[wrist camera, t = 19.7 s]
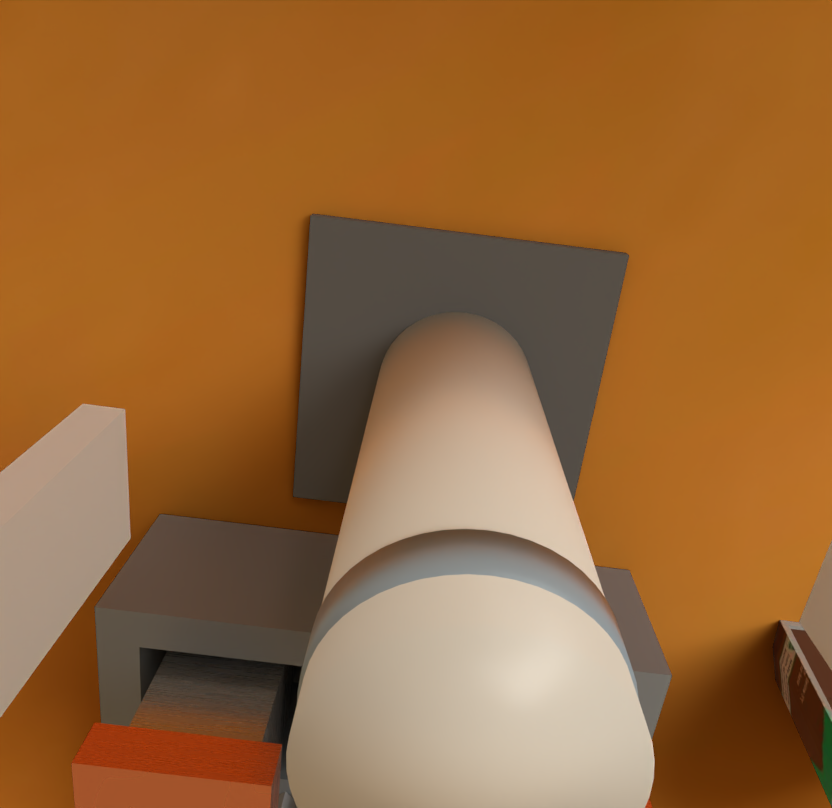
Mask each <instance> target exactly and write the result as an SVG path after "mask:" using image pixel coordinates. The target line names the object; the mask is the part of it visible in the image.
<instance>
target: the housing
mask: <svg viewBox="0 0 832 808" xmlns="http://www.w3.org/2000/svg"><path fill="white" fill-rule="evenodd" d="M338 537H339V535H332V534H324V533H315V532H307V531H299V530H291V529H282V528H274V527H266V526H257V525H249V524H241V523H232V522H224V521H216V520H207V519H199V518H191V517H182V516H174V515H166V514H160V515H159V516H158V518H157V519H156V520H155V522H154V523H153V525H152V526H151V528H150V529H149V530H148V532H147V533H146V535H145V536H144V537H143V539H142V540H141V542H140V543H139V545H138V546H137V547H136V549H135V550H134V552H133V553H132V555H131V556H130V557H129V559H128V560H127V562H126V563H125V564H124V566H123V567H122V569H121V570H120V572H119V573H118V574H117V576H116V577H115V579H114V580H113V582H112V583H111V584H110V586H109V587H108V589H107V590H106V592H105V593H104V594H103V596H102V597H101V599H100V600H99V601H98V603H97V604H96V606H95V624H96V641H97V658H98V676H99V693H100V711H101V723H104V724H113V725H121V726H129V725H130V723H131V721H132V719H133V717H134V715H135V713H136V711H137V709H138V707H139V705H140V704H141V702H142V700H143V698H144V696H145V694H146V692H147V690H148V688H149V686H150V684H151V682H152V680H153V678H154V676H155V674H156V672H157V670H158V668H159V666H160V664H161V662H162V661H163V659H164V657H165V655H166V653H167V651H176V652H185V653H193V654H202V655H210V656H219V657H227V658H236V659H244V660H253V661H261V662H270V663H278V664H286V665H295V666H294V680H293V694H292V702H291V706H290V710H289V714H288V718H287V721H286V725H285V729H284V733H283V737H282V741H281V744H282V755H281V770H280V786H279V801H278V808H297V806H296V804H295V801H294V798H293V796H292V793H291V790H290V787H289V781H288V776H287V768H286V752H287V746H288V739H289V734H290V730H291V726H292V722H293V718H294V714H295V710H296V706H297V692H298V686H299V679H300V675H301V671H302V667H303V663H304V659H305V655H306V651H307V647H308V643H309V639H310V635H311V632H312V628H313V625H314V622H315V619H316V616H317V613H318V611H319V609H320V607H321V605H322V601H323V597H324V593H325V589H326V585H327V581H328V577H329V573H330V569H331V565H332V561H333V557H334V553H335V549H336V545H337V541H338ZM595 569H596V572H597V575H598V578H599V581H600V584H601V587H602V590H603V593H604V596H605V598H606V600H607V602H608V604H609V606H610V608H611V610H612V612H613V614H614V616H615V618H616V621H617V624H618V627H619V630H620V633H621V636H622V639H623V642H624V645H625V648H626V651H627V654H628V657H629V660H630V663H631V666H632V669H633V672H634V676H635V679H636V682H637V690H638V697H639V702H640V705H641V708H642V711H643V714H644V717H645V721H646V724H647V727H648V730H649V733H650V736H651V740H652V737H653V734H654V731H655V728H656V725H657V722H658V718H659V715H660V712H661V709H662V706H663V703H664V699H665V696H666V693H667V690H668V687H669V684H670V680H671V677H672V674H671V672H670V669H669V667H668V664H667V662H666V659H665V657H664V654H663V652H662V650H661V647H660V645H659V642H658V640H657V637H656V635H655V632H654V630H653V627H652V625H651V622H650V620H649V617H648V615H647V613H646V610H645V608H644V605H643V603H642V600H641V598H640V595H639V593H638V590H637V588H636V585H635V583H634V580H633V578H632V576H631V573H630V571H629V570H623V569H615V568H607V567H598V566H595Z"/></svg>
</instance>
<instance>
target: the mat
mask: <svg viewBox="0 0 832 808" xmlns="http://www.w3.org/2000/svg"><path fill="white" fill-rule="evenodd" d="M628 258H629V255H628V254H627V253H623V252H615V251H607V250H599V249H591V248H583V247H575V246H567V245H559V244H551V243H543V242H535V241H527V240H519V239H511V238H503V237H495V236H487V235H479V234H471V233H463V232H455V231H447V230H439V229H431V228H423V227H415V226H407V225H399V224H391V223H383V222H375V221H367V220H359V219H351V218H343V217H335V216H327V215H319V214H312V215H311V216H310V231H309V247H308V263H307V279H306V296H305V312H304V328H303V344H302V360H301V376H300V392H299V408H298V424H297V440H296V456H295V472H294V488H293V497H299V498H307V499H315V500H324V501H332V502H340V503H347V501H348V497H349V493H350V489H351V485H352V481H353V477H354V473H355V469H356V465H357V461H358V457H359V453H360V449H361V445H362V441H363V436H364V432H365V428H366V424H367V420H368V416H369V412H370V408H371V404H372V400H373V396H374V392H375V388H376V384H377V380H378V376H379V372H380V368H381V365H382V362H383V359H384V357H385V354H386V352H387V350H388V349H389V347H390V346H391V344H392V343H393V341H394V340H395V339H396V338H397V337H398V336H399V335H400V334H401V333H402V332H403V331H404V330H405V329H406V328H408V327H409V326H411V325H412V324H414V323H415V322H417V321H419V320H421V319H423V318H426V317H429V316H432V315H435V314H440V313H446V312H465V313H470V314H476V315H479V316H482V317H485V318H487V319H489V320H491V321H493V322H495V323H497V324H498V325H500V326H501V327H503V328H504V329H505V330H506V331H507V332H508V333H510V334H511V336H512V337H513V338H514V339H515V340H516V341H517V343H518V344H519V346H520V347H521V349H522V351H523V353H524V355H525V357H526V359H527V362H528V365H529V368H530V371H531V374H532V377H533V381H534V384H535V387H536V390H537V393H538V396H539V399H540V402H541V405H542V408H543V411H544V414H545V417H546V420H547V423H548V426H549V429H550V432H551V435H552V438H553V441H554V444H555V447H556V450H557V453H558V456H559V459H560V463H561V466H562V469H563V472H564V475H565V478H566V481H567V484H568V487H569V490H570V493H571V496H572V499H573V501H574V496H575V492H576V488H577V483H578V479H579V474H580V470H581V466H582V461H583V457H584V452H585V448H586V443H587V439H588V435H589V430H590V426H591V421H592V417H593V413H594V408H595V404H596V399H597V395H598V390H599V386H600V382H601V377H602V373H603V368H604V364H605V360H606V355H607V351H608V346H609V342H610V338H611V333H612V329H613V324H614V320H615V315H616V311H617V307H618V302H619V298H620V293H621V289H622V285H623V280H624V276H625V271H626V267H627V262H628Z"/></svg>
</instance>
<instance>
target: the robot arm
mask: <svg viewBox="0 0 832 808" xmlns="http://www.w3.org/2000/svg"><path fill="white" fill-rule="evenodd" d="M130 539H131V534H130V510H129V487H128V463H127V440H126V416H125V409H121V408H113V407H105V406H97V405H89V404H82V405H81V406H80V407H78V408H77V409H76V410H75V411H74V412H72V413H71V414H70V415H69V416H67V417H66V418H65V419H64V420H63V421H61V422H60V423H59V424H58V425H57V426H55V427H54V428H53V429H52V430H51V431H49V432H48V433H47V434H46V435H45V436H43V437H42V438H41V439H40V440H39V441H37V442H36V443H35V444H34V445H33V446H31V447H30V448H29V449H28V450H27V451H25V452H24V453H23V454H22V455H21V456H19V457H18V458H17V459H16V460H15V461H13V462H12V463H11V464H10V465H9V466H7V467H6V468H5V469H4V470H3V471H1V472H0V717H1V716H2V715H3V713H4V712H5V710H6V709H7V708H8V706H9V705H10V704H11V702H12V701H13V699H14V698H15V697H16V695H17V694H18V693H19V691H20V690H21V688H22V687H23V686H24V684H25V683H26V682H27V680H28V679H29V677H30V676H31V675H32V673H33V672H34V671H35V669H36V668H37V666H38V665H39V664H40V662H41V661H42V660H43V658H44V657H45V655H46V654H47V653H48V651H49V650H50V649H51V647H52V646H53V644H54V643H55V642H56V640H57V639H58V638H59V636H60V635H61V633H62V632H63V631H64V629H65V628H66V627H67V625H68V624H69V622H70V621H71V620H72V618H73V617H74V616H75V614H76V613H77V611H78V610H79V609H80V607H81V606H82V605H83V603H84V602H85V600H86V599H87V598H88V596H89V595H90V594H91V592H92V591H93V589H94V588H95V587H96V585H97V584H98V583H99V581H100V580H101V578H102V577H103V576H104V574H105V573H106V572H107V570H108V569H109V567H110V566H111V565H112V563H113V562H114V561H115V559H116V558H117V556H118V555H119V554H120V552H121V551H122V550H123V548H124V547H125V545H126V544H127V543H128V541H129V540H130ZM799 622H800V623H801V625H802V626H803V628H804V630H805V631H806V633H807V634H808V636H809V637H810V639H811V640H812V642H813V643H814V645H815V646H816V648H817V649H818V651H819V652H820V654H821V655H822V657H823V658H824V660H825V661H826V663H827V664H828V666H829V667H830V669H831V670H832V541H831V544H830V546H829V549H828V551H827V554H826V556H825V559H824V561H823V564H822V566H821V569H820V571H819V574H818V576H817V579H816V581H815V584H814V586H813V589H812V591H811V594H810V596H809V599H808V601H807V604H806V606H805V609H804V611H803V614H802V616H801V619H800V621H799Z"/></svg>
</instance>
